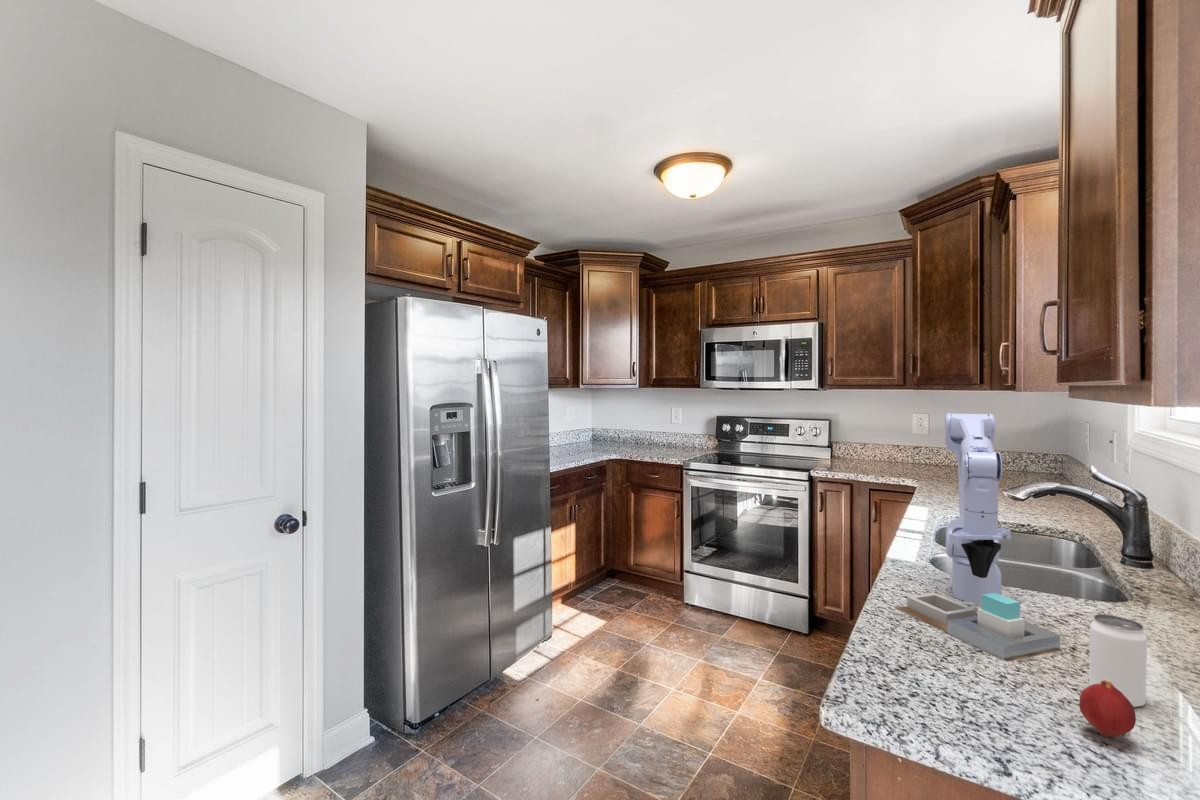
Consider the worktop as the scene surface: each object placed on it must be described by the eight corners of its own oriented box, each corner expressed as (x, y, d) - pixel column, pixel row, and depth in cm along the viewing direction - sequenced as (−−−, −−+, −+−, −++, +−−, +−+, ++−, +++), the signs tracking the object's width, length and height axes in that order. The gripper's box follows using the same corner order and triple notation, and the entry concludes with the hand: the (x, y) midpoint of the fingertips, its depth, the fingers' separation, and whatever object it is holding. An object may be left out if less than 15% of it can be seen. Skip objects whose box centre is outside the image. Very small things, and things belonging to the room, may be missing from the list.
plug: (992, 631, 106) (992, 591, 106) (1024, 645, 100) (1024, 603, 100) (977, 634, 104) (977, 593, 104) (1008, 648, 99) (1009, 605, 99)
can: (1157, 711, 81) (1159, 632, 81) (1107, 706, 82) (1109, 628, 82) (1125, 687, 87) (1126, 614, 87) (1079, 683, 89) (1080, 611, 88)
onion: (1080, 717, 79) (1081, 664, 79) (1135, 735, 75) (1136, 679, 75) (1077, 735, 75) (1078, 679, 75) (1135, 755, 71) (1136, 696, 71)
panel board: (944, 604, 121) (944, 600, 121) (1062, 654, 98) (1062, 649, 98) (895, 611, 117) (895, 608, 117) (1006, 665, 94) (1007, 661, 94)
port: (999, 623, 109) (1000, 611, 109) (1059, 648, 99) (1060, 635, 99) (947, 632, 105) (947, 620, 105) (1004, 660, 95) (1004, 645, 95)
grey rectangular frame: (934, 602, 120) (934, 592, 120) (975, 620, 111) (975, 609, 111) (907, 606, 118) (907, 596, 118) (946, 625, 109) (946, 614, 109)
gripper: (972, 517, 104) (971, 587, 104) (1026, 512, 108) (1025, 578, 108) (939, 509, 110) (939, 575, 111) (991, 504, 115) (990, 567, 115)
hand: (979, 576), depth 110 cm, fingers closed
